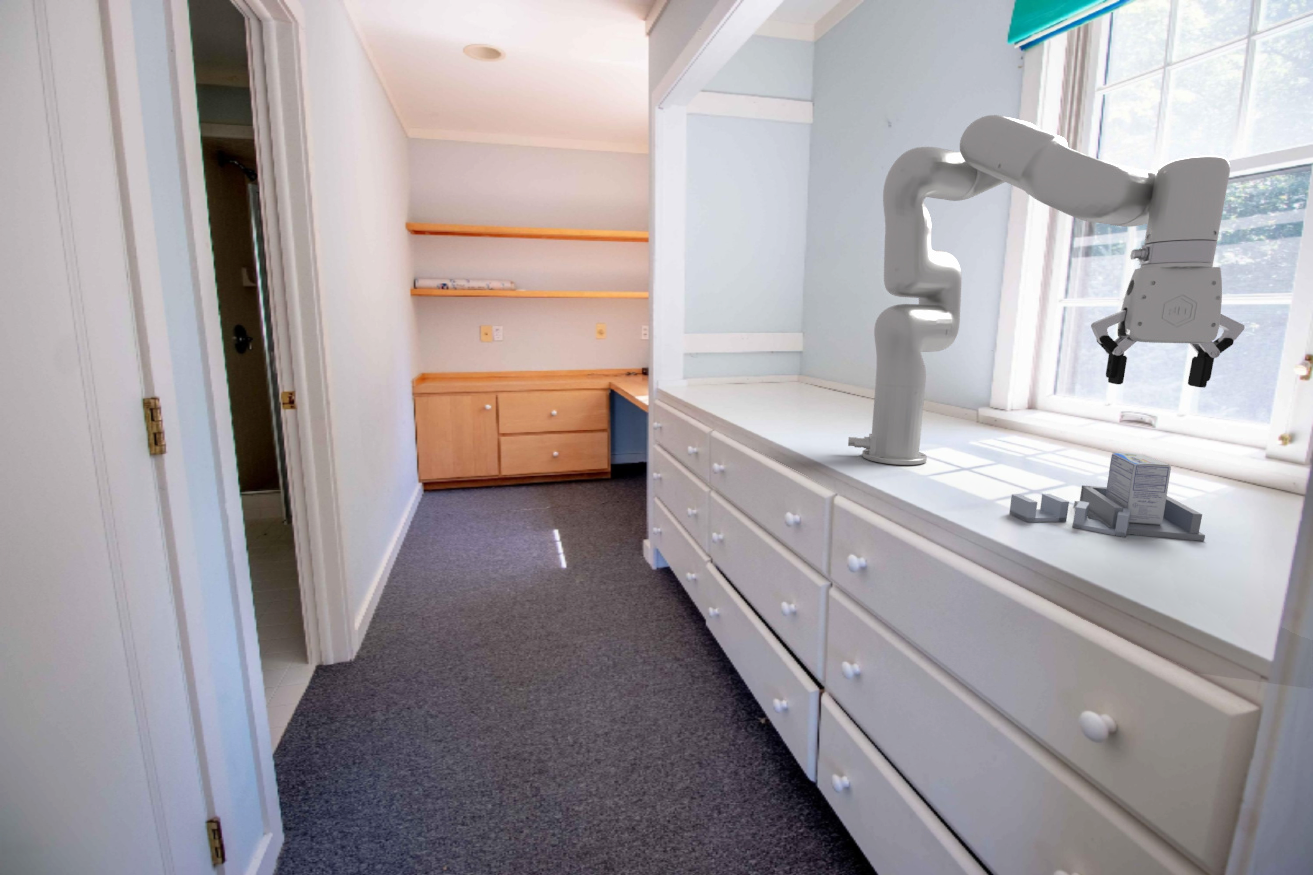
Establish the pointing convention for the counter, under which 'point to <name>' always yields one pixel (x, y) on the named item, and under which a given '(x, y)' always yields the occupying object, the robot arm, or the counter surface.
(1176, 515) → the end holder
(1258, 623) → the counter surface
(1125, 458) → the medicine box
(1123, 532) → the clip
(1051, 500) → the clip
